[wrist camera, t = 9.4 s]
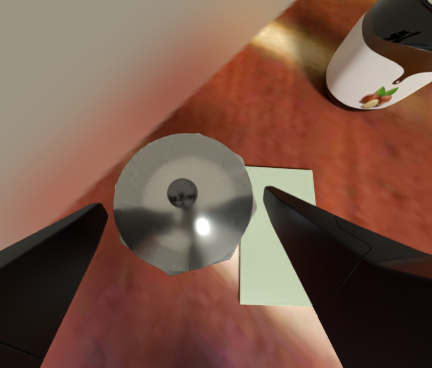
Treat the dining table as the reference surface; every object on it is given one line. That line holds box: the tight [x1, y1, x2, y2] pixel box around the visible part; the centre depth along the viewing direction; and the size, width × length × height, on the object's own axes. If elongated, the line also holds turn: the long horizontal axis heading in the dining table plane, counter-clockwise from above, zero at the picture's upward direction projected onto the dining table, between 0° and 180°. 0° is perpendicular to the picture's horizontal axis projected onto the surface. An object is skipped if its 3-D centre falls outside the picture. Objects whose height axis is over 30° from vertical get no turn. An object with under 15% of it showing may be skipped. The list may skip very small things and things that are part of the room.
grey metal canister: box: [113, 133, 257, 276], centre depth 12 cm, size 7×7×11 cm
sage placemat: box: [240, 166, 316, 307], centre depth 18 cm, size 15×9×1 cm, turn 177°
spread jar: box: [325, 0, 432, 112], centre depth 18 cm, size 12×11×12 cm
